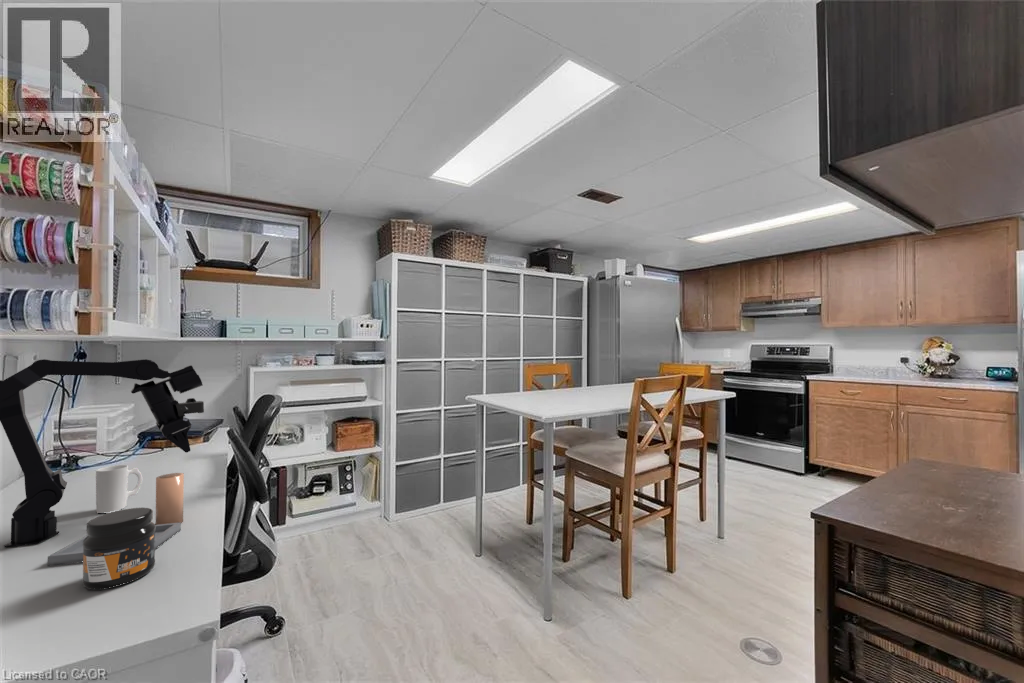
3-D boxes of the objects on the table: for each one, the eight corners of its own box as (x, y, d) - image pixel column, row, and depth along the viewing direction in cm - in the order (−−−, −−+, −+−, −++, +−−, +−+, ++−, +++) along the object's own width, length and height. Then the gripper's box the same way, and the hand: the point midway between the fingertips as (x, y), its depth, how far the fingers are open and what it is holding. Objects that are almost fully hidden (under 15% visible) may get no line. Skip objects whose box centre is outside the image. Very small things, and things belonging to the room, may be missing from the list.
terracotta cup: (150, 529, 104) (150, 479, 104) (163, 521, 109) (163, 473, 110) (176, 527, 105) (176, 477, 106) (187, 518, 111) (187, 471, 111)
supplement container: (83, 599, 74) (85, 532, 74) (79, 579, 81) (80, 517, 81) (159, 575, 82) (160, 514, 82) (150, 558, 89) (150, 502, 89)
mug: (97, 516, 114) (98, 472, 114) (92, 511, 117) (93, 468, 118) (145, 505, 122) (146, 464, 122) (138, 500, 126) (139, 461, 126)
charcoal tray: (47, 566, 86) (47, 556, 86) (93, 539, 99) (93, 531, 99) (149, 554, 91) (149, 545, 91) (180, 530, 103) (180, 522, 103)
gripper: (199, 390, 115) (223, 439, 118) (189, 387, 128) (211, 431, 132) (149, 408, 107) (177, 460, 111) (145, 403, 121) (169, 450, 124)
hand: (186, 449), depth 120 cm, fingers open, 9 cm apart
